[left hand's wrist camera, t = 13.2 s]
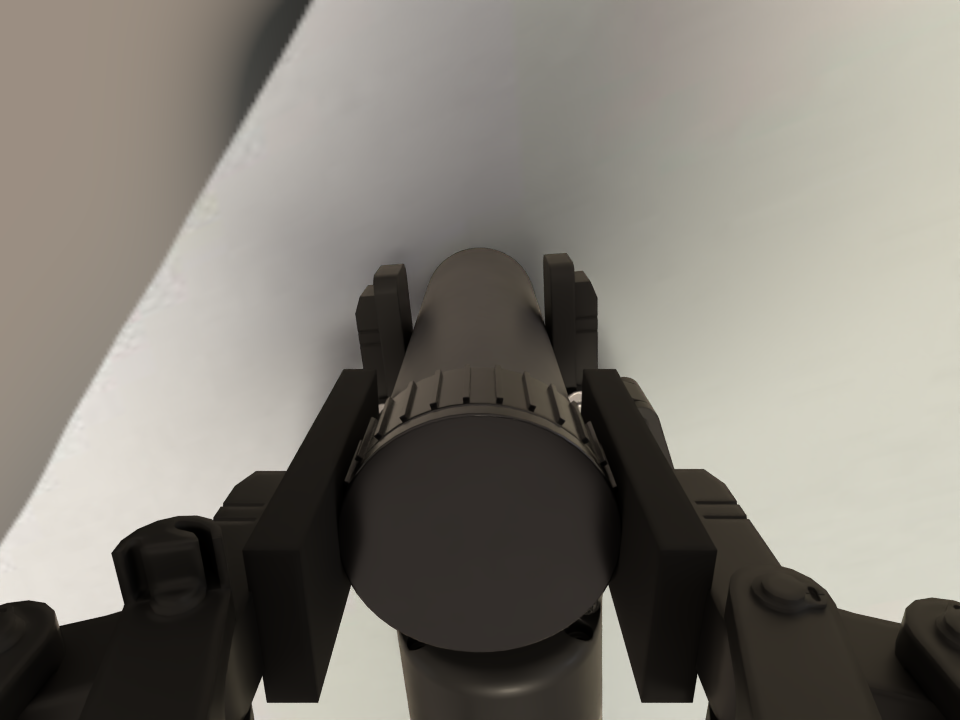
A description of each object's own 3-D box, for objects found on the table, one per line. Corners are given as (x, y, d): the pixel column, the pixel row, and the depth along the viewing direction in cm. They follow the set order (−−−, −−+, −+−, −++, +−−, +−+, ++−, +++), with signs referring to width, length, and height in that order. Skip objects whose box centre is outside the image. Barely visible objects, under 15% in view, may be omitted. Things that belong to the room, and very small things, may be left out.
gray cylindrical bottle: (523, 237, 24) (585, 393, 10) (542, 341, 25) (618, 604, 11) (414, 259, 24) (324, 441, 10) (439, 360, 26) (390, 641, 12)
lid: (584, 339, 11) (607, 383, 9) (618, 556, 13) (643, 633, 11) (324, 388, 12) (293, 441, 10) (390, 595, 13) (375, 674, 11)
